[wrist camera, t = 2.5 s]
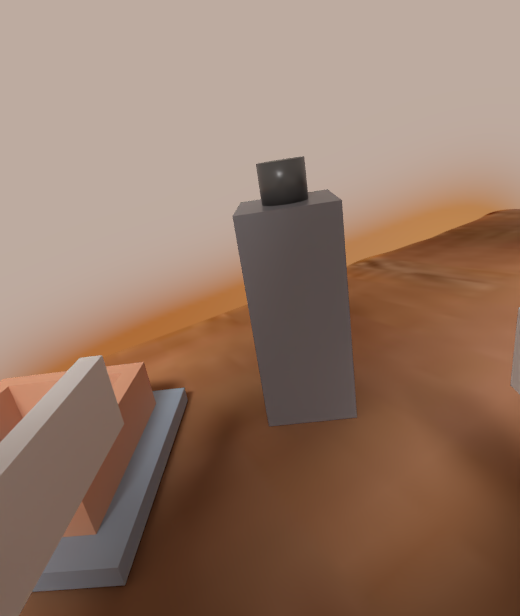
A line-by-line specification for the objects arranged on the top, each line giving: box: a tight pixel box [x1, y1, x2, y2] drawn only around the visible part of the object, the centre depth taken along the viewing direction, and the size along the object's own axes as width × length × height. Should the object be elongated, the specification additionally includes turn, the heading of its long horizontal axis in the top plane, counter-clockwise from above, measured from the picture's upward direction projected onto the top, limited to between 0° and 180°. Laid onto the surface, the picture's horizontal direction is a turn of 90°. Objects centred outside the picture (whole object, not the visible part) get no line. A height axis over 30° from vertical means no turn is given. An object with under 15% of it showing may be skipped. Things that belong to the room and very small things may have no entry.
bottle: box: [233, 157, 357, 426], centre depth 22 cm, size 5×5×14 cm
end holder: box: [0, 362, 188, 592], centre depth 20 cm, size 12×12×4 cm
